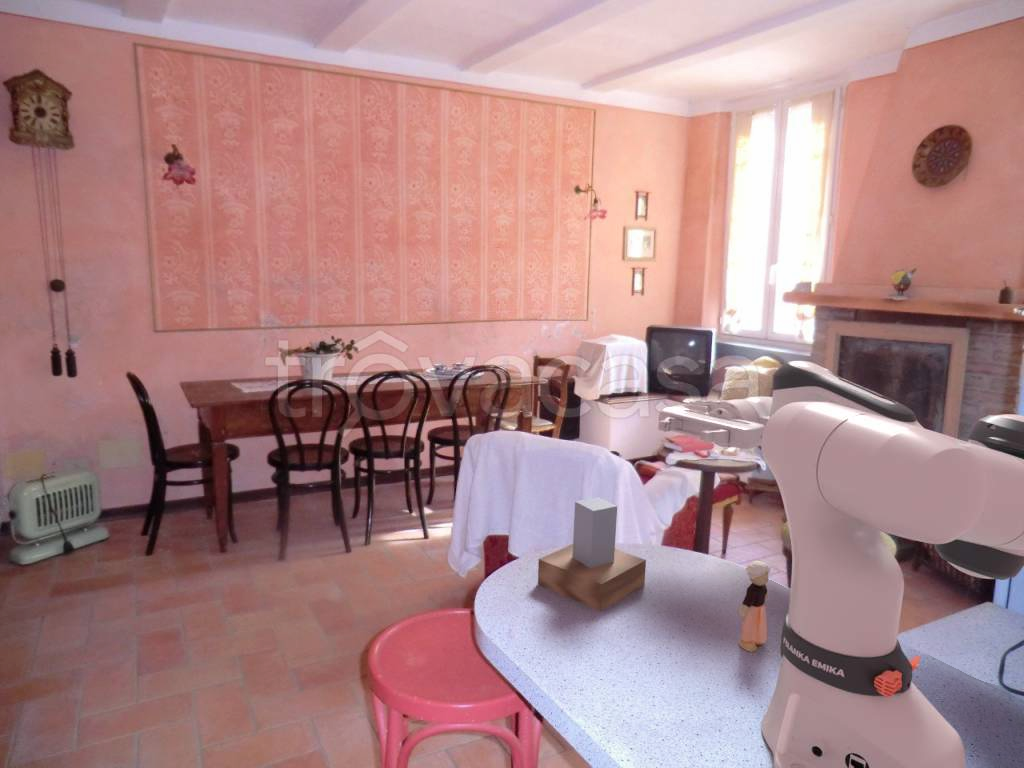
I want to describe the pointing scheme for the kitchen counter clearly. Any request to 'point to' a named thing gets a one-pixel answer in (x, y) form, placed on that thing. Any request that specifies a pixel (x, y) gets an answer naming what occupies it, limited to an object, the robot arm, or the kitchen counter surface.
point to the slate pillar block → (594, 532)
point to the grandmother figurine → (755, 607)
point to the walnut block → (591, 577)
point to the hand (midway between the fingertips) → (681, 431)
